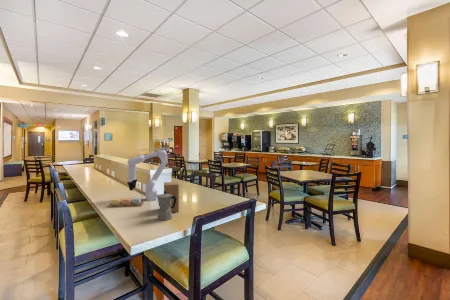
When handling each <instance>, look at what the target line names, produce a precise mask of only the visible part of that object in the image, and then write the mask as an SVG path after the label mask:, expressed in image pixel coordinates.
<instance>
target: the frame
mask: <svg viewBox="0 0 450 300" xmlns="http://www.w3.org/2000/svg"><path fill="white" fill-rule="evenodd" d="M143 204H144V200H141V203H140V204H132V200H131V203H130V204H122V201H121V203H120V204H115V205H112V202H110V203H109V204H108V208H110V209H111V208H133V207H142V206H143Z"/></svg>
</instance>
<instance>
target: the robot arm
mask: <svg viewBox="0 0 450 300" xmlns="http://www.w3.org/2000/svg"><path fill="white" fill-rule="evenodd" d="M153 157H156V158H157V157H158V158H159V159H160V164H159V166H158V167H157V169H156V170H155V172H154V174H153V175H152V177H151V179H150V180H149V181H148V182H147V183H146V185H145V201H148V202H150V201H158V197H157V196H156V195H159V191H158V189H156V188H155V186H156V182H157V181H158V179H159V178H160V176H161V175H162V173H163V170H165V168H166V166H167V164H168V162H169V161H168V153H167V151H166V150H164V149H161V150H155V151H153V152H150V153H148V154H145V155H143V154H139V155H138V156H134V157H132V158H129V159H128V160H127V165H128V166H127V167H128V168H127V171H128V178H127V179H126V180H128V181H127V182H126V183H127V186H128V188H129V191H134V189H136V185H137V182H138V179H137V166H136V165H139V164H140V163H141V164H142V163H143V162H145V161H146V160H147V159H150V158H153Z"/></svg>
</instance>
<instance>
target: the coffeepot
mask: <svg viewBox="0 0 450 300" xmlns="http://www.w3.org/2000/svg"><path fill="white" fill-rule="evenodd" d="M156 196H157V197H158V199H157V202H158V207H159V210H158V216H157V220H158V221H162V222H165V221H169V220H172V219H173V213H171V208H174V207H175V203H176V200H177V198H176V197H175V196H172V195H171V194H166V191H164V190H163V193H162V194H158V195H156ZM172 199H174V203H173V207H171V208H170V205H171V200H172Z"/></svg>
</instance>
